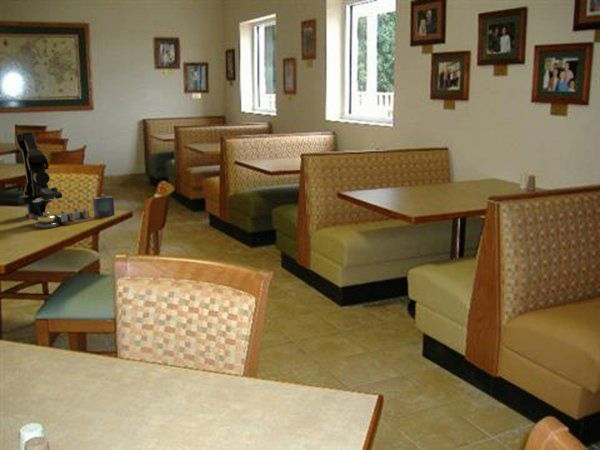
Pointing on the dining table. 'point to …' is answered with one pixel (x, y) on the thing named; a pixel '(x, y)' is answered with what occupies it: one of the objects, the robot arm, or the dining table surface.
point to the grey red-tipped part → (42, 218)
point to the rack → (75, 221)
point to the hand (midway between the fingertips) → (42, 215)
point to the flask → (103, 206)
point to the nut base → (46, 226)
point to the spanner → (69, 216)
